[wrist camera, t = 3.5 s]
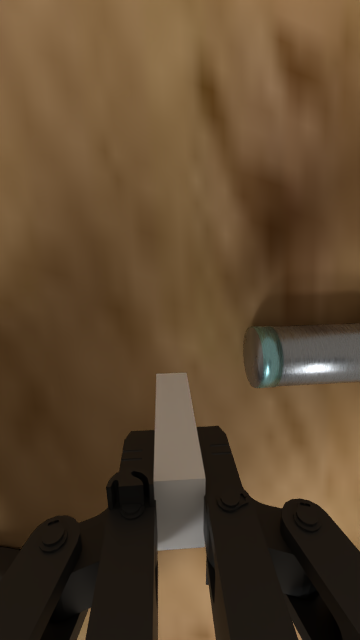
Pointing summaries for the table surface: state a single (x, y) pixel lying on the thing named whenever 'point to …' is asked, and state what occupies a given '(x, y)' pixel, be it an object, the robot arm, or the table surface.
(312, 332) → the axle
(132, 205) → the table surface
